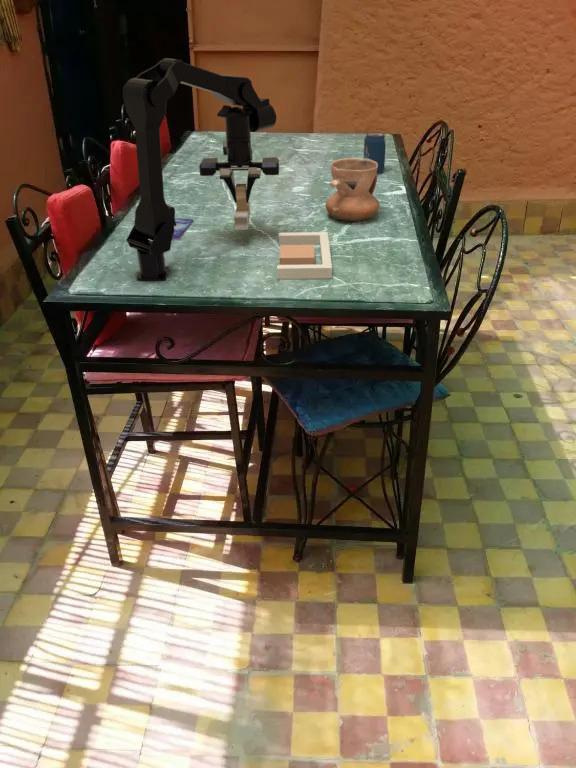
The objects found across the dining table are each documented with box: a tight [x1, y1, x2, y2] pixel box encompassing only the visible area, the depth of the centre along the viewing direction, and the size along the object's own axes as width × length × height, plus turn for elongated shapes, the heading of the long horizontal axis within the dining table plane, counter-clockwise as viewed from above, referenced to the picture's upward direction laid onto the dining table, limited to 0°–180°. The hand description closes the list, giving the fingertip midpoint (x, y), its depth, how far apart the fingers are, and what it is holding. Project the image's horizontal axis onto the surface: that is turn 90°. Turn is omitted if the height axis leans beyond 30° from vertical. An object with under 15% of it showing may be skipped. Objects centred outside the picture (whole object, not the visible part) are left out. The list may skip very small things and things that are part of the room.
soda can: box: [363, 131, 387, 175], centre depth 206 cm, size 7×7×12 cm
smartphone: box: [172, 217, 195, 241], centre depth 167 cm, size 7×1×15 cm
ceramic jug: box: [325, 157, 380, 222], centre depth 170 cm, size 18×14×14 cm
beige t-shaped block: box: [233, 183, 251, 231], centre depth 156 cm, size 12×3×9 cm, turn 179°
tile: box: [279, 245, 315, 265], centre depth 149 cm, size 8×8×2 cm
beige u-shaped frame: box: [276, 231, 333, 280], centre depth 149 cm, size 12×22×2 cm, turn 0°
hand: (241, 202), depth 156 cm, fingers closed on beige t-shaped block, 2 cm apart
